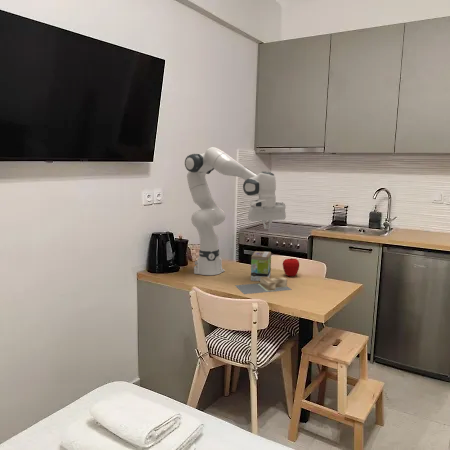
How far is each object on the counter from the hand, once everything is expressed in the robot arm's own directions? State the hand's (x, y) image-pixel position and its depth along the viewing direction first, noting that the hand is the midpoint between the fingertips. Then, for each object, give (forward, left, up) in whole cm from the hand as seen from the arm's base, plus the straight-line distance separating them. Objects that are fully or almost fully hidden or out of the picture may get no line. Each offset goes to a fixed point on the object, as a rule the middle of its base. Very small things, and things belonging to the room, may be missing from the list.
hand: (266, 228), depth 224 cm
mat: (+7, -5, -31) cm, 32 cm away
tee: (+7, +2, -30) cm, 31 cm away
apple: (-13, +20, -31) cm, 40 cm away
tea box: (-12, +1, -31) cm, 34 cm away
